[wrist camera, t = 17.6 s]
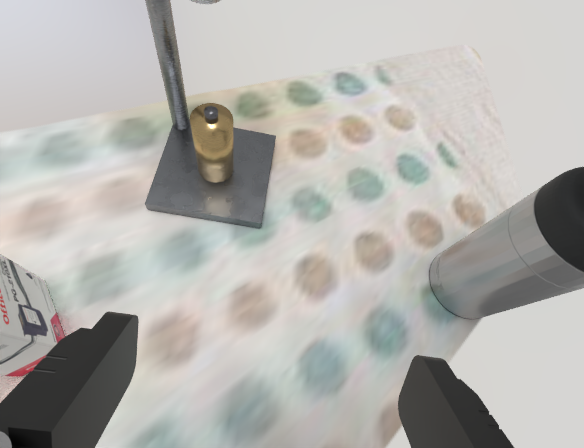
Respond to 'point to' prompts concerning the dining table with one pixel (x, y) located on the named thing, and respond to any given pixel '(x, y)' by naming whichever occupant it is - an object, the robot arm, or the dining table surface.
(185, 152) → the stand
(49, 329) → the ink box
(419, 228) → the dining table surface
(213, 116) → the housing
